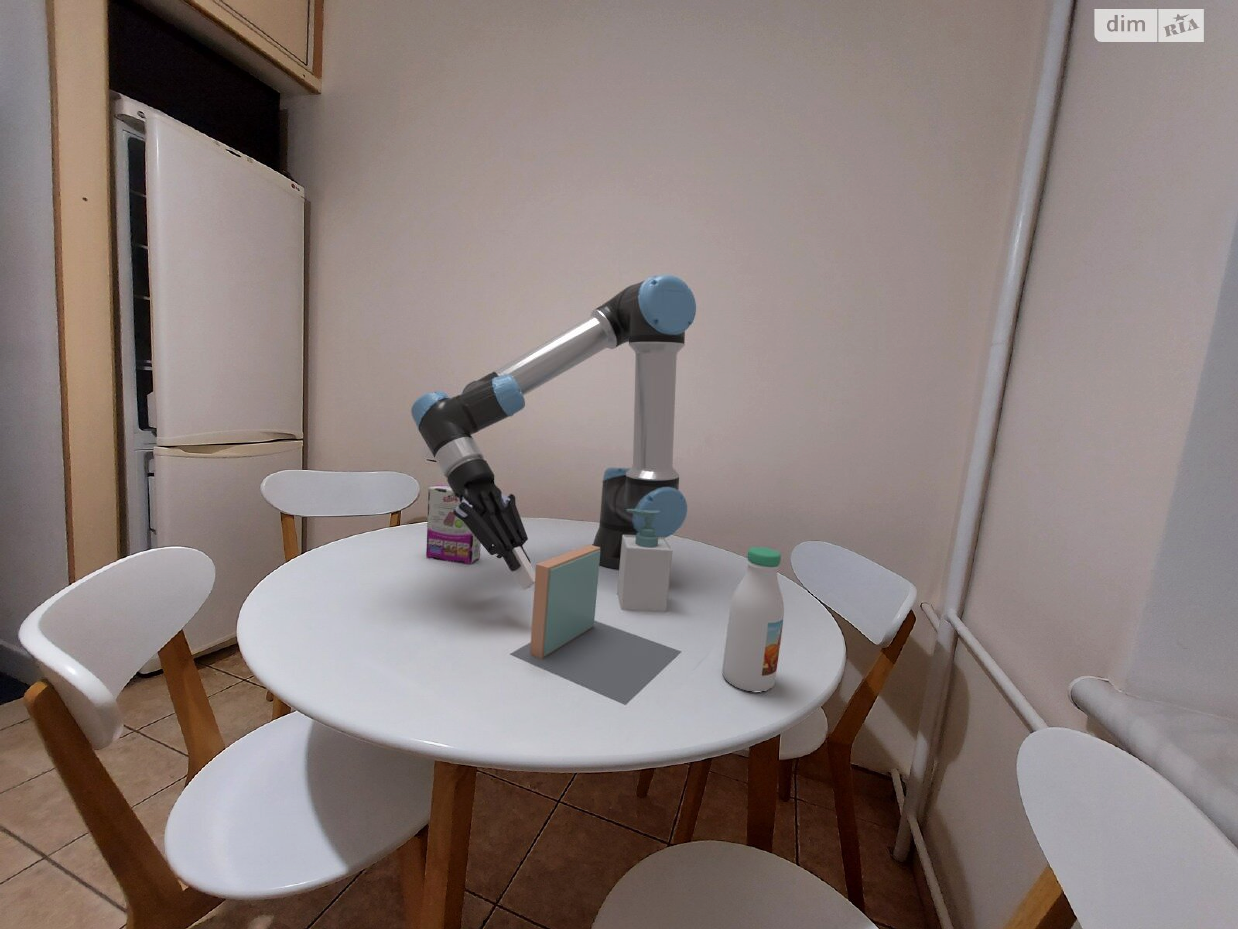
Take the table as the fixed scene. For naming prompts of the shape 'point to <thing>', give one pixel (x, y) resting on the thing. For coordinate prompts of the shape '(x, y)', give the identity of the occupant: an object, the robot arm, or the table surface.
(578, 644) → the mat
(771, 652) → the milk bottle
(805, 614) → the table surface
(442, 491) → the candy bar box
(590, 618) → the tile
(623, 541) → the soap bottle
